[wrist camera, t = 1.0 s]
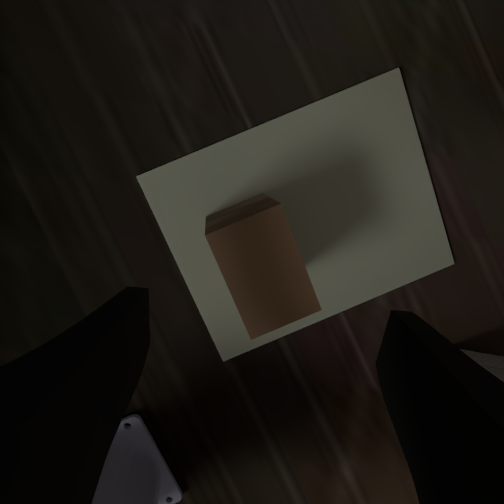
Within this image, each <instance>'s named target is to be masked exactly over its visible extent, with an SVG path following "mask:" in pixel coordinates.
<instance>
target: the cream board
mask: <svg viewBox="0 0 504 504" xmlns="http://www.w3.org/2000/svg"><path fill="white" fill-rule="evenodd" d="M136 177H137V179H138V181H139V184H140V186H141V188H142V190H143V192H144V194H145V196H146V199H147V201H148V203H149V205H150V207H151V209H152V211H153V213H154V216H155V218H156V220H157V222H158V224H159V226H160V228H161V230H162V233H163V235H164V237H165V239H166V241H167V243H168V245H169V247H170V250H171V252H172V254H173V256H174V258H175V260H176V262H177V265H178V267H179V269H180V271H181V273H182V275H183V277H184V279H185V282H186V284H187V286H188V288H189V290H190V292H191V294H192V296H193V299H194V301H195V303H196V305H197V307H198V309H199V311H200V314H201V316H202V318H203V320H204V322H205V324H206V326H207V328H208V331H209V333H210V335H211V337H212V339H213V341H214V343H215V345H216V348H217V350H218V352H219V354H220V356H221V358H222V360H223V362H224V361H226V360H228V359H231V358H233V357H235V356H238V355H240V354H242V353H245V352H247V351H250V350H252V349H254V348H257V347H259V346H261V345H264V344H266V343H268V342H271V341H273V340H276V339H278V338H280V337H283V336H285V335H287V334H290V333H292V332H294V331H297V330H299V329H302V328H304V327H306V326H309V325H311V324H313V323H316V322H318V321H320V320H323V319H325V318H327V317H330V316H332V315H335V314H337V313H339V312H342V311H344V310H346V309H349V308H351V307H353V306H356V305H358V304H361V303H363V302H365V301H368V300H370V299H372V298H375V297H377V296H379V295H382V294H384V293H387V292H389V291H391V290H394V289H396V288H398V287H401V286H403V285H405V284H408V283H410V282H413V281H415V280H417V279H420V278H422V277H424V276H427V275H429V274H431V273H434V272H436V271H438V270H441V269H443V268H446V267H448V266H450V265H453V264H454V260H453V257H452V253H451V249H450V246H449V242H448V239H447V235H446V232H445V228H444V225H443V221H442V218H441V214H440V211H439V207H438V204H437V200H436V196H435V193H434V189H433V186H432V182H431V179H430V175H429V172H428V168H427V165H426V161H425V158H424V154H423V151H422V147H421V143H420V140H419V136H418V133H417V129H416V126H415V122H414V119H413V115H412V112H411V108H410V105H409V101H408V98H407V94H406V91H405V87H404V83H403V80H402V76H401V73H400V69H399V68H396V69H394V70H391V71H389V72H387V73H384V74H382V75H379V76H377V77H375V78H372V79H370V80H367V81H365V82H362V83H360V84H358V85H355V86H353V87H350V88H348V89H346V90H343V91H341V92H338V93H336V94H334V95H331V96H329V97H326V98H324V99H322V100H319V101H317V102H314V103H312V104H310V105H307V106H305V107H302V108H300V109H297V110H295V111H293V112H290V113H288V114H285V115H283V116H281V117H278V118H276V119H273V120H271V121H269V122H266V123H264V124H261V125H259V126H257V127H254V128H252V129H249V130H247V131H244V132H242V133H240V134H237V135H235V136H232V137H230V138H228V139H225V140H223V141H220V142H218V143H216V144H213V145H211V146H208V147H206V148H204V149H201V150H199V151H196V152H194V153H192V154H189V155H187V156H184V157H182V158H179V159H177V160H175V161H172V162H170V163H167V164H165V165H163V166H160V167H158V168H155V169H153V170H151V171H148V172H146V173H143V174H141V175H139V176H136ZM261 193H263V194H265V195H267V196H269V197H270V198H272V199H274V200H276V201H278V202H279V203H281V205H282V207H283V210H284V213H285V215H286V218H287V220H288V223H289V226H290V228H291V231H292V233H293V236H294V239H295V241H296V244H297V246H298V249H299V252H300V254H301V257H302V259H303V262H304V265H305V267H306V270H307V272H308V275H309V278H310V280H311V283H312V285H313V288H314V291H315V293H316V296H317V299H318V301H319V304H320V306H321V309H322V310H321V311H318V312H316V313H314V314H311V315H309V316H307V317H304V318H302V319H300V320H297V321H295V322H292V323H290V324H288V325H285V326H283V327H281V328H278V329H276V330H274V331H271V332H269V333H266V334H264V335H262V336H259V337H257V338H255V339H252V340H251V339H250V336H249V334H248V332H247V330H246V327H245V325H244V323H243V321H242V318H241V316H240V314H239V312H238V309H237V307H236V305H235V302H234V300H233V298H232V296H231V293H230V291H229V289H228V287H227V284H226V282H225V280H224V278H223V275H222V273H221V271H220V269H219V266H218V264H217V262H216V260H215V257H214V255H213V253H212V250H211V248H210V246H209V244H208V241H207V239H206V237H205V222H206V216H209V215H211V214H213V213H216V212H218V211H221V210H223V209H225V208H228V207H230V206H233V205H235V204H237V203H240V202H242V201H245V200H247V199H249V198H252V197H254V196H257V195H259V194H261Z"/></svg>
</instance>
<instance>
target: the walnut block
mask: <svg viewBox="0 0 504 504" xmlns="http://www.w3.org/2000/svg"><path fill="white" fill-rule="evenodd" d="M205 237H206V239H207V241H208V244H209V246H210V248H211V250H212V253H213V255H214V257H215V260H216V262H217V264H218V266H219V269H220V271H221V273H222V275H223V278H224V280H225V282H226V284H227V287H228V289H229V291H230V293H231V296H232V298H233V300H234V302H235V305H236V307H237V309H238V312H239V314H240V316H241V318H242V321H243V323H244V325H245V327H246V330H247V332H248V334H249V336H250V339H251V340H252V339H255V338H257V337H259V336H262V335H264V334H266V333H269V332H271V331H274V330H276V329H278V328H281V327H283V326H285V325H288V324H290V323H292V322H295V321H297V320H300V319H302V318H304V317H307V316H309V315H311V314H314V313H316V312H318V311H321V310H322V309H321V306H320V304H319V301H318V299H317V296H316V293H315V291H314V288H313V285H312V283H311V280H310V278H309V275H308V272H307V270H306V267H305V265H304V262H303V259H302V257H301V254H300V252H299V249H298V246H297V244H296V241H295V239H294V236H293V233H292V231H291V228H290V226H289V223H288V220H287V218H286V215H285V213H284V210H283V207H282V205H281V203H279V202H278V201H276V200H274V199H272V198H270V197H269V196H267V195H265V194H263V193H261V194H259V195H257V196H254V197H252V198H249V199H247V200H245V201H242V202H240V203H237V204H235V205H233V206H230V207H228V208H225V209H223V210H221V211H218V212H216V213H213V214H211V215H209V216H206V222H205Z"/></svg>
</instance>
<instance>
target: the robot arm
mask: <svg viewBox="0 0 504 504" xmlns="http://www.w3.org/2000/svg"><path fill="white" fill-rule="evenodd" d="M149 346H150V329H149V289H148V288H138V287H126V288H125V289H124V290H122V291H121V292H119V293H118V294H117V295H115V296H114V297H113V298H111V299H110V300H109V301H107V302H106V303H105V304H103V305H102V306H101V307H99V308H98V309H96V310H95V311H94V312H92V313H91V314H89V315H88V316H87V317H85V318H84V319H83V320H81V321H80V322H78V323H76V324H75V325H73V326H72V327H70V328H69V329H67V330H66V331H64V332H63V333H61V334H59V335H58V336H56V337H55V338H53V339H52V340H50V341H48V342H47V343H45V344H43V345H41V346H40V347H38V348H36V349H34V350H32V351H31V352H29V353H27V354H25V355H23V356H21V357H19V358H17V359H15V360H13V361H11V362H9V363H7V364H5V365H3V366H1V367H0V504H174V503H177V502H179V501H180V500H181V499H182V491H181V489H180V487H179V485H178V484H177V482H176V480H175V478H174V476H173V474H172V473H171V471H170V469H169V467H168V465H167V464H166V462H165V460H164V458H163V456H162V454H161V453H160V451H159V449H158V447H157V445H156V444H155V442H154V440H153V438H152V436H151V434H150V433H149V431H148V429H147V427H146V425H145V424H144V422H143V420H142V418H141V417H140V416H139V415H137V414H133V415H130V416H127V417H125V418H123V416H124V414H125V412H126V409H127V407H128V405H129V402H130V400H131V398H132V395H133V393H134V391H135V388H136V386H137V384H138V381H139V379H140V376H141V374H142V370H143V367H144V364H145V360H146V357H147V353H148V349H149ZM376 368H377V373H378V378H379V382H380V387H381V391H382V395H383V398H384V401H385V404H386V406H387V409H388V412H389V415H390V417H391V420H392V423H393V425H394V428H395V431H396V433H397V436H398V439H399V441H400V444H401V447H402V449H403V452H404V455H405V458H406V460H407V463H408V466H409V469H410V472H411V475H412V478H413V481H414V484H415V488H416V492H417V495H418V499H419V503H420V504H504V382H503V381H502V380H500V379H499V378H498V377H496V376H495V375H493V374H492V373H491V372H489V371H488V370H486V369H485V368H484V367H482V366H481V365H480V364H478V363H477V362H476V361H474V360H473V359H472V358H470V357H469V356H468V355H466V354H465V353H464V352H463V351H461V350H460V349H459V348H458V347H456V346H455V345H454V344H453V343H451V342H450V341H449V340H448V339H446V338H445V337H444V336H443V335H441V334H440V333H439V332H438V331H436V330H435V329H434V328H433V327H431V326H430V325H429V324H428V323H426V322H425V321H424V320H422V319H421V318H420V317H418V316H417V315H416V314H414V313H413V312H407V311H396V310H391V313H390V317H389V320H388V323H387V327H386V330H385V334H384V337H383V340H382V344H381V347H380V350H379V354H378V357H377V361H376ZM122 418H123V419H122ZM125 423H130V424H131V425H130V426H127V425H125ZM167 497H171V499H168V498H167Z"/></svg>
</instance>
